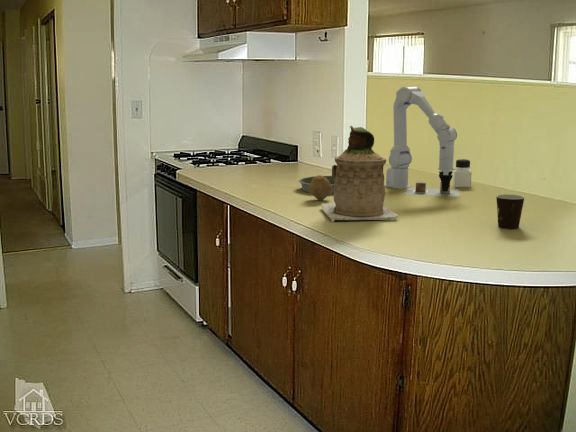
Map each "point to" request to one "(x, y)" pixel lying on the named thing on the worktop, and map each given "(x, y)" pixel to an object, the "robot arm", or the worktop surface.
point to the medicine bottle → (462, 173)
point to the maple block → (444, 191)
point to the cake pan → (306, 181)
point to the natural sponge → (320, 187)
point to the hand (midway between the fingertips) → (445, 189)
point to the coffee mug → (509, 210)
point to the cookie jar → (359, 182)
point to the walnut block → (421, 187)
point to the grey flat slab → (432, 192)
